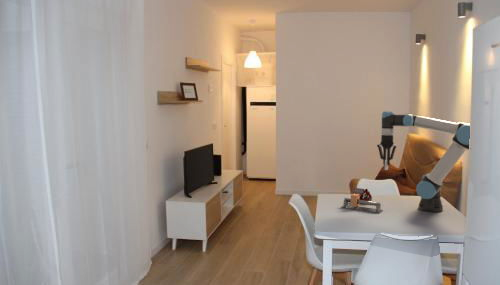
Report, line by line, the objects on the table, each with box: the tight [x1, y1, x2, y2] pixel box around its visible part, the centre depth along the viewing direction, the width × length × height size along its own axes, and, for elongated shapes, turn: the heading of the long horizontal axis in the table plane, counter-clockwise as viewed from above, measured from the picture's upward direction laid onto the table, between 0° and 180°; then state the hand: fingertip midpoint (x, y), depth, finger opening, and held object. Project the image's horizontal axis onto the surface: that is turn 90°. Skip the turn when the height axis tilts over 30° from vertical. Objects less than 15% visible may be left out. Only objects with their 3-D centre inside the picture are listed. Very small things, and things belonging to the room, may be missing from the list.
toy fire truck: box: [353, 187, 373, 202], centre depth 309 cm, size 7×12×10 cm, turn 63°
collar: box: [350, 193, 360, 207], centre depth 294 cm, size 4×6×7 cm
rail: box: [340, 197, 384, 215], centre depth 291 cm, size 26×8×6 cm, turn 55°
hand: (386, 169), depth 292 cm, fingers closed
